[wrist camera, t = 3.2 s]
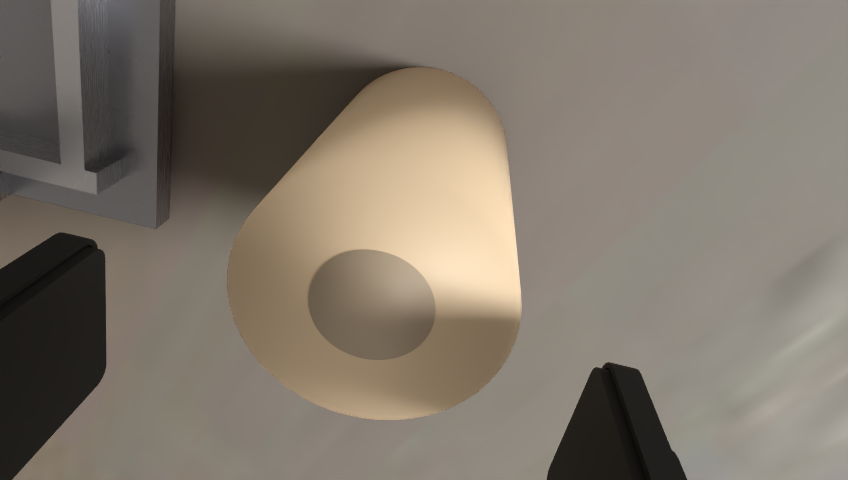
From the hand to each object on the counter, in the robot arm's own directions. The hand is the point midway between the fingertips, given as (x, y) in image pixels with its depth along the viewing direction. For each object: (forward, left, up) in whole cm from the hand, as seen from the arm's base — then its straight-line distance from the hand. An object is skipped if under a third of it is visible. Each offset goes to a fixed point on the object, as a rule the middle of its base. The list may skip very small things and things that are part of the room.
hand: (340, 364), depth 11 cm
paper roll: (0, -1, -11) cm, 11 cm away
